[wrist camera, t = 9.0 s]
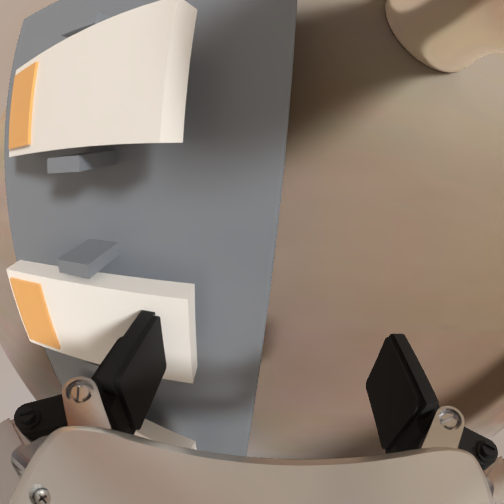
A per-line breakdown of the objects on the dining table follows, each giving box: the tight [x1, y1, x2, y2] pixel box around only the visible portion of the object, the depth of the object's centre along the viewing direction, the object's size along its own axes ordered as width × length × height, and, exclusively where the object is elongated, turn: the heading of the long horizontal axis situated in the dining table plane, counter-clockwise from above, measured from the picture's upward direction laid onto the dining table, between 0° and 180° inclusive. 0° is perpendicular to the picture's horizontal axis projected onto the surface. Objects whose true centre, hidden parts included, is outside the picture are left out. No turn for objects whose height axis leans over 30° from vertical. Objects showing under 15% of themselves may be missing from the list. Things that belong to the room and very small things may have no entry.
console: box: [5, 0, 297, 457], centre depth 14 cm, size 16×34×6 cm, turn 175°
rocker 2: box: [134, 419, 197, 450], centre depth 15 cm, size 10×5×1 cm, turn 85°
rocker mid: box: [6, 260, 197, 384], centre depth 11 cm, size 10×5×1 cm, turn 85°
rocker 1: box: [9, 0, 197, 157], centre depth 8 cm, size 10×5×1 cm, turn 85°
